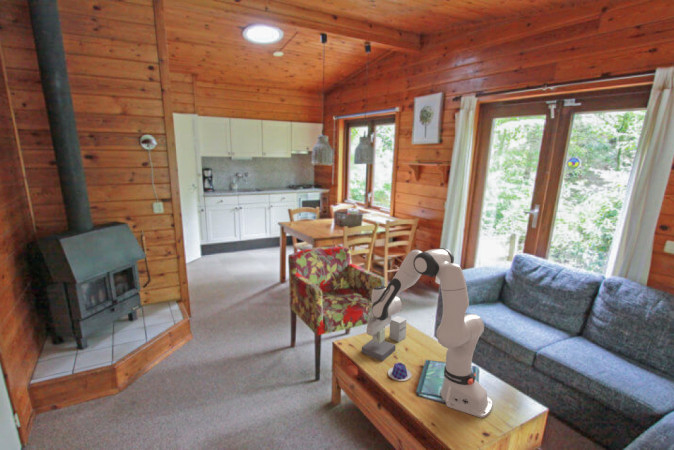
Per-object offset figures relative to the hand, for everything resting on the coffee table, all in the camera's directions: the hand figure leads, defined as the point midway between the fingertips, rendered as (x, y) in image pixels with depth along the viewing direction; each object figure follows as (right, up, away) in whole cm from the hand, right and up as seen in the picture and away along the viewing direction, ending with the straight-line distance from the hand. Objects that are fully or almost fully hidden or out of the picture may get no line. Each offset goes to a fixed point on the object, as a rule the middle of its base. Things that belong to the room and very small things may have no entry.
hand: (378, 336), depth 197 cm
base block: (0, -10, +2) cm, 10 cm away
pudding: (+8, -14, -19) cm, 25 cm away
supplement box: (+14, -7, +16) cm, 22 cm away
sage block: (0, -3, +1) cm, 3 cm away
